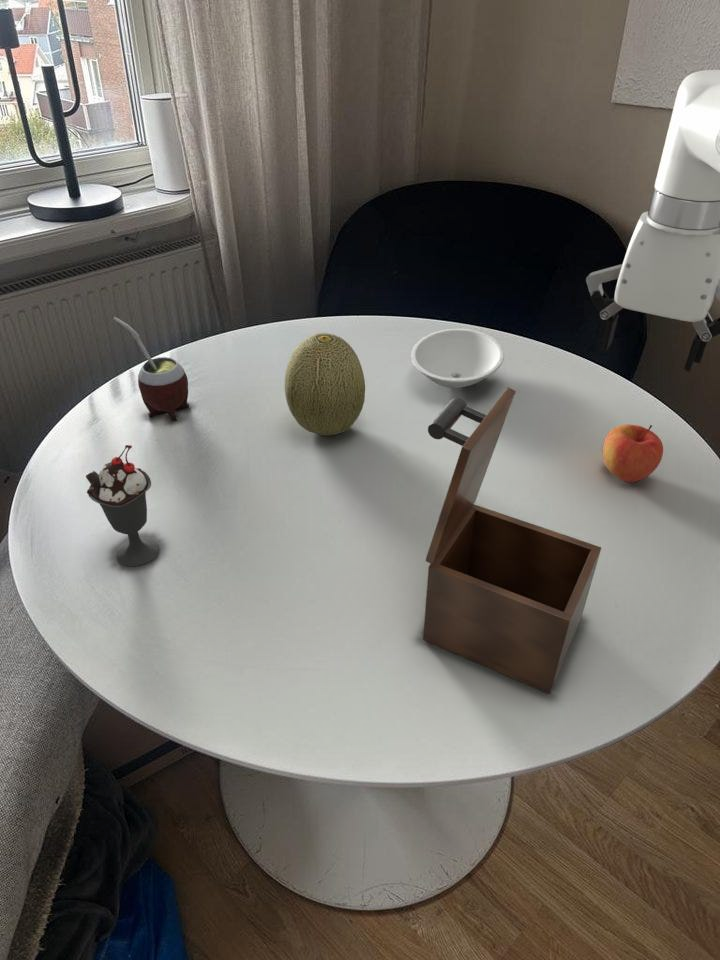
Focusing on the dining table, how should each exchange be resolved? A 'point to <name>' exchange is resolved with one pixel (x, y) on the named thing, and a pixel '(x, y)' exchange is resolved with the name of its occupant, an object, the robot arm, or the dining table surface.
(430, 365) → the dish
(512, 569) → the chest
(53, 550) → the dining table surface
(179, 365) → the mate gourd
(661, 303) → the robot arm
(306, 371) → the fruit
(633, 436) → the apple
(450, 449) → the dining table surface
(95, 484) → the sundae
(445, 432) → the lid
